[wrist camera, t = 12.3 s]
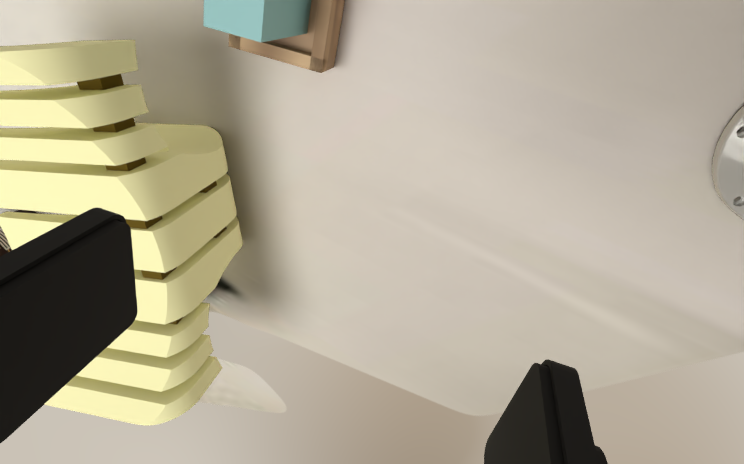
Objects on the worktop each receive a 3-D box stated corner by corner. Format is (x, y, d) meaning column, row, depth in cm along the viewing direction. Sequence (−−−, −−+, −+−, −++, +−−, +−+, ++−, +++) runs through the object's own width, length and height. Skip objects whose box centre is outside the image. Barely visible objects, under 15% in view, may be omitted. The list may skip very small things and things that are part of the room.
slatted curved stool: (268, 305, 52) (175, 432, 37) (154, 290, 55) (26, 400, 40) (217, 29, 38) (33, 51, 23) (69, 33, 41) (-176, 54, 26)
